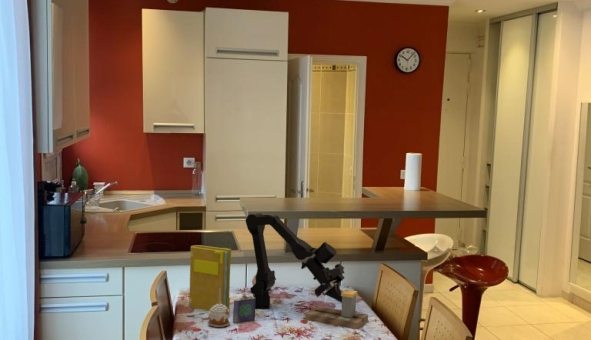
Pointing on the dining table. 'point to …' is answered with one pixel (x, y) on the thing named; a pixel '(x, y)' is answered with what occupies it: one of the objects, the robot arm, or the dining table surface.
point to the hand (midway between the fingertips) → (343, 302)
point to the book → (209, 277)
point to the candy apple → (219, 314)
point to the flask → (244, 309)
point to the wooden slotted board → (335, 317)
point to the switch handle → (348, 303)
